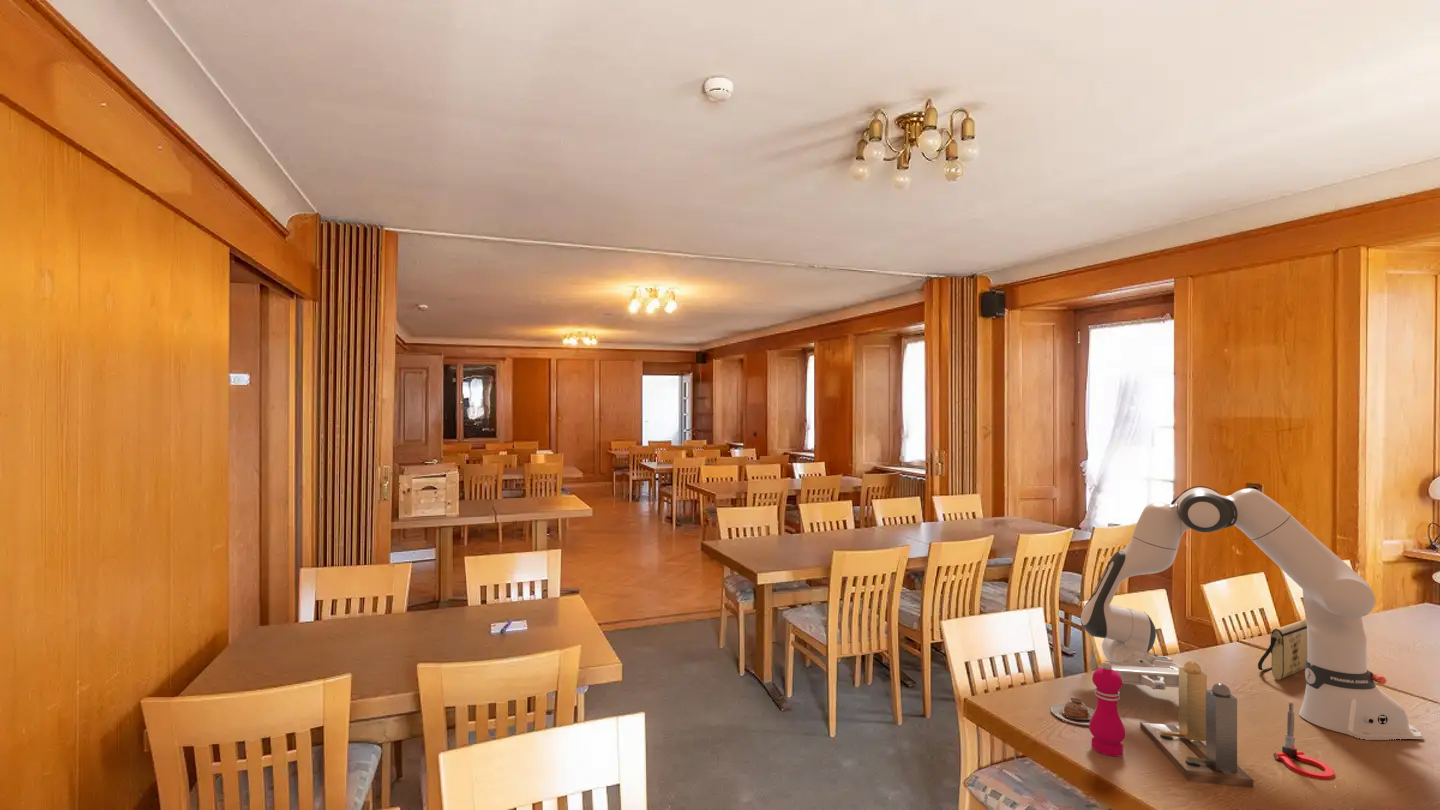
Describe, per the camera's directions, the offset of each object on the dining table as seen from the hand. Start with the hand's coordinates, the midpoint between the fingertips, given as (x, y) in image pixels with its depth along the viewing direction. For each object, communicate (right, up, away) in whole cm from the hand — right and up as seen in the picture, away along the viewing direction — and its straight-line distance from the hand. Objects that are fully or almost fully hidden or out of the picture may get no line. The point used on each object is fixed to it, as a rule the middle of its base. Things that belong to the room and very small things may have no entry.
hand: (1159, 686), depth 173 cm
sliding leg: (-5, -5, -16) cm, 18 cm away
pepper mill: (-24, -7, -18) cm, 31 cm away
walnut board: (-6, -7, -20) cm, 22 cm away
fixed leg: (-8, -5, -28) cm, 30 cm away
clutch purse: (+59, -8, +31) cm, 67 cm away
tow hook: (+16, -7, -25) cm, 31 cm away
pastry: (-22, -8, -1) cm, 23 cm away
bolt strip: (-7, -6, -20) cm, 22 cm away
